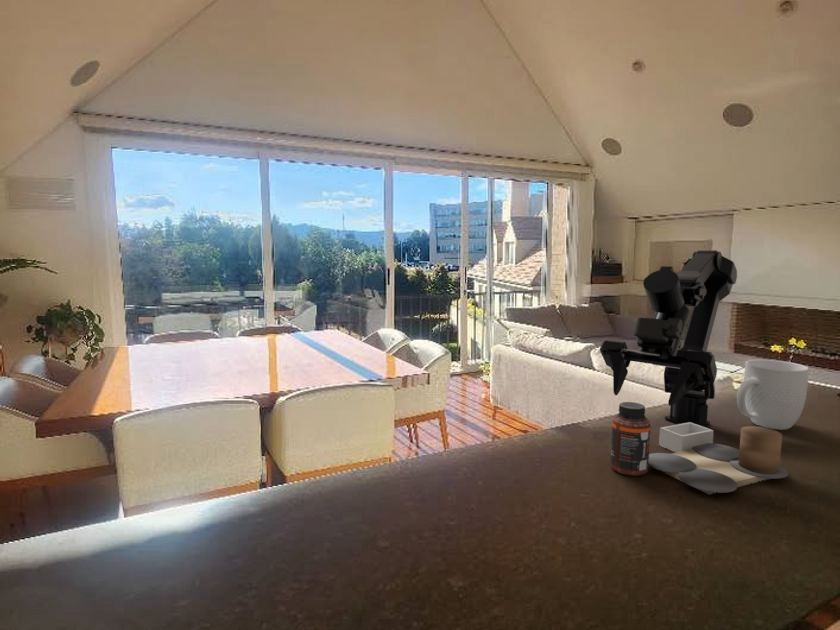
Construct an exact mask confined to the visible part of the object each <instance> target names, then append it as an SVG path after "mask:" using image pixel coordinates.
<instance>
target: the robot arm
mask: <svg viewBox="0 0 840 630" xmlns="http://www.w3.org/2000/svg"><path fill="white" fill-rule="evenodd" d="M737 277H738V271H737V268H736V265H735V262H734V261H732V260H731V259H729V258H727V257H725V256H724V255H723V254H722V252H721V251H718V250H714V249H713V250H711V249H710V250H709V249H708V250H707V249H704V250H697V251H693V253H692V256H691V259H689V261H688V262H687V263H686V264H685V265H684V266H683V267H682V268H681V270H680V271H674V267H673V266H670V265H669V266H668V265H667V266H665V265H664V266H662V265H661V266H660V268H659V269H658V270H657V271H653V272H652V273H650V274H648V275H647V276H646V277H645V278H644V279H643V282H642V283H643V289H644V292H645V294H646V298H647V300H648V304H649V307H650V309H651V310H652V311H654V315H653V318H649V317H637V319H636V323H635V328H634V333H633V336H634V337H636V338H637V339H638V340H637V342H636V344H637V346H638V347H639V348H641V349H640V350H636V349H629V348H628V346H627V345H628V344H627V343H626V341H620V340H613V339H606V340H604V341H603V342H602V343H601V345H600V348H599V352H600V354H601V356H602V359H603V360H604V363H605V366H607V367H609V368H610V369H611V370H612V373H613V374H612V376H613V377H612V378H613V379H612V383H613V384H612V385H613V386H612V387H613V394H614V396H618V395H619V393H620V392H621V390H622V387H623V385H624V383H625V380H626V377H628V376H627V375H628V373H629V370H628V367H630V364H631V362H636V363H643V364H649V365H652V366H660V367H665V368H664V371H663V382H664V393H666V394H667V393H669V394H670V395H669V399H668V401H667V402H668V403H667V404H668V405H669V408H670V409H669V415H666V416H664V420H667V421H670V422H673V423H675V424H676V425H677V424H683V423H688V422H691V423H694V424H697V425H700V426H702V427H703V426H705V425H710V424H711V421H710V420H708V408H709V406H708V405H709V404H707V401H708V400H713V399H715V396H716V395H715V394H716V388H715V381H716V379H717V374H718V373H717V372H718V368H717V364H716V359H715V356H714V354H713V353H712V352H711V351H708V347H709V343H710V340H711V336H712V331H713V327H714V324H715V321H716V316H717V313H718V308H719V304H720V302H721V301H722V300H723V299H725V298H726V297H727V296H729V295H730V294H731V290H732V289H733V288H732V287H733V285H735V284H736V283H737V279H738V278H737ZM688 307H693V310H692V312H690V309H689V308H688ZM690 315H691V316H690ZM689 317H690V319H689ZM687 326H688V327H687ZM686 327H687V330H686ZM685 330H686V333H685V334H686V335H685V336H684V332H685ZM683 336H684V337H685V338H684V342H683V344H682V339H683Z"/></svg>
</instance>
